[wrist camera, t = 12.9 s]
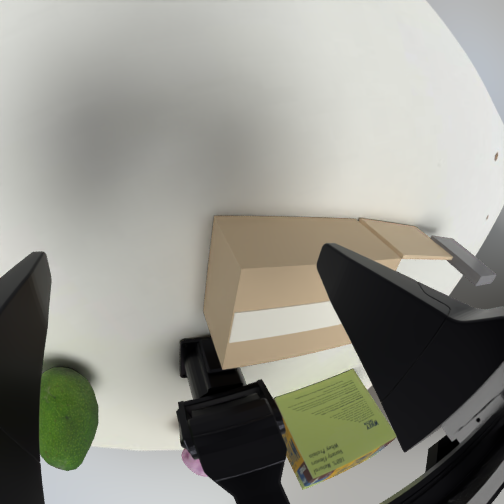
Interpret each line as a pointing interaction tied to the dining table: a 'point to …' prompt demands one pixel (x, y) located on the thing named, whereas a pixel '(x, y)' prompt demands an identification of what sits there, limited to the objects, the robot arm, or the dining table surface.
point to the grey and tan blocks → (429, 249)
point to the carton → (277, 285)
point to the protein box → (331, 427)
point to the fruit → (66, 417)
